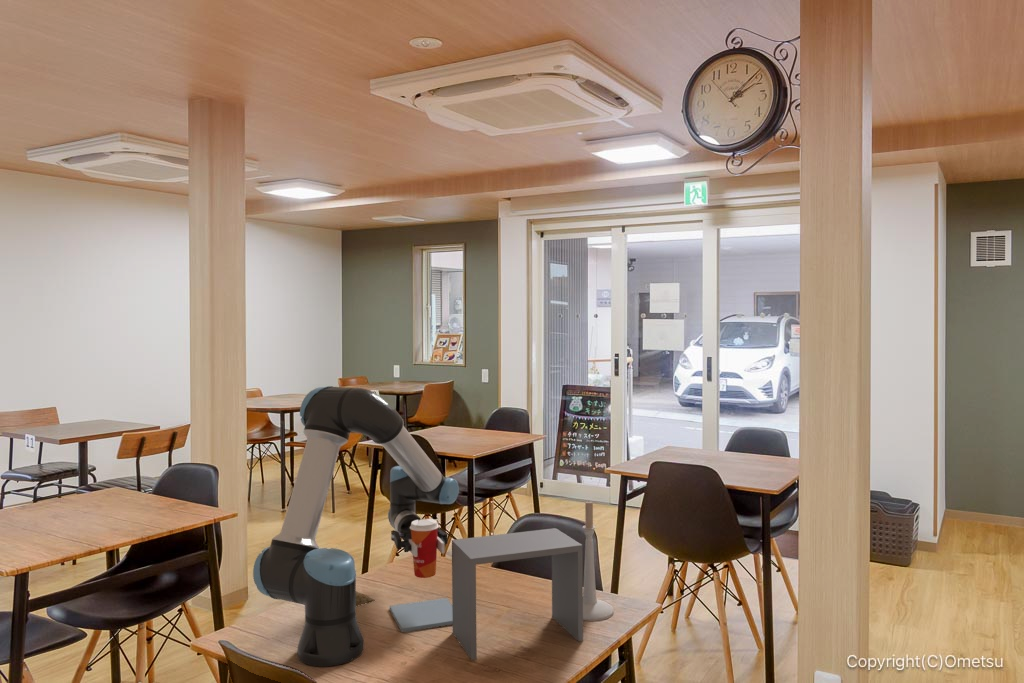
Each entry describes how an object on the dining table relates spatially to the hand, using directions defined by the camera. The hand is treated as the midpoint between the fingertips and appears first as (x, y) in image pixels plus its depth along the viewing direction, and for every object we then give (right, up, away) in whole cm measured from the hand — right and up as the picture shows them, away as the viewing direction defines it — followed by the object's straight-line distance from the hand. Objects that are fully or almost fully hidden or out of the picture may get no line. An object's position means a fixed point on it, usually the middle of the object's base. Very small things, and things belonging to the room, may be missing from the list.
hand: (429, 549), depth 189 cm
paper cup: (-2, -8, +5) cm, 10 cm away
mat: (-2, -19, +5) cm, 20 cm away
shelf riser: (+23, -19, -8) cm, 31 cm away
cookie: (-25, -20, +17) cm, 36 cm away
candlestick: (+42, -19, +8) cm, 47 cm away
